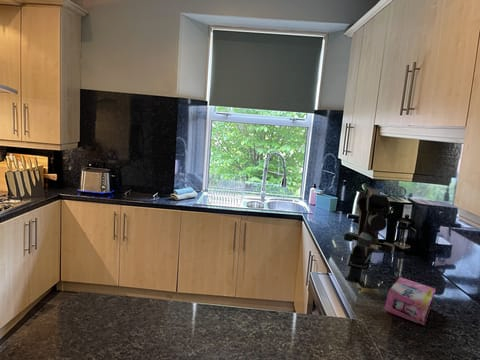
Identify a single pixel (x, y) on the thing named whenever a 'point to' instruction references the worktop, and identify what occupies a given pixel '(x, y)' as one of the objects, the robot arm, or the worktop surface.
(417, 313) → the gum box
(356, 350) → the worktop surface
